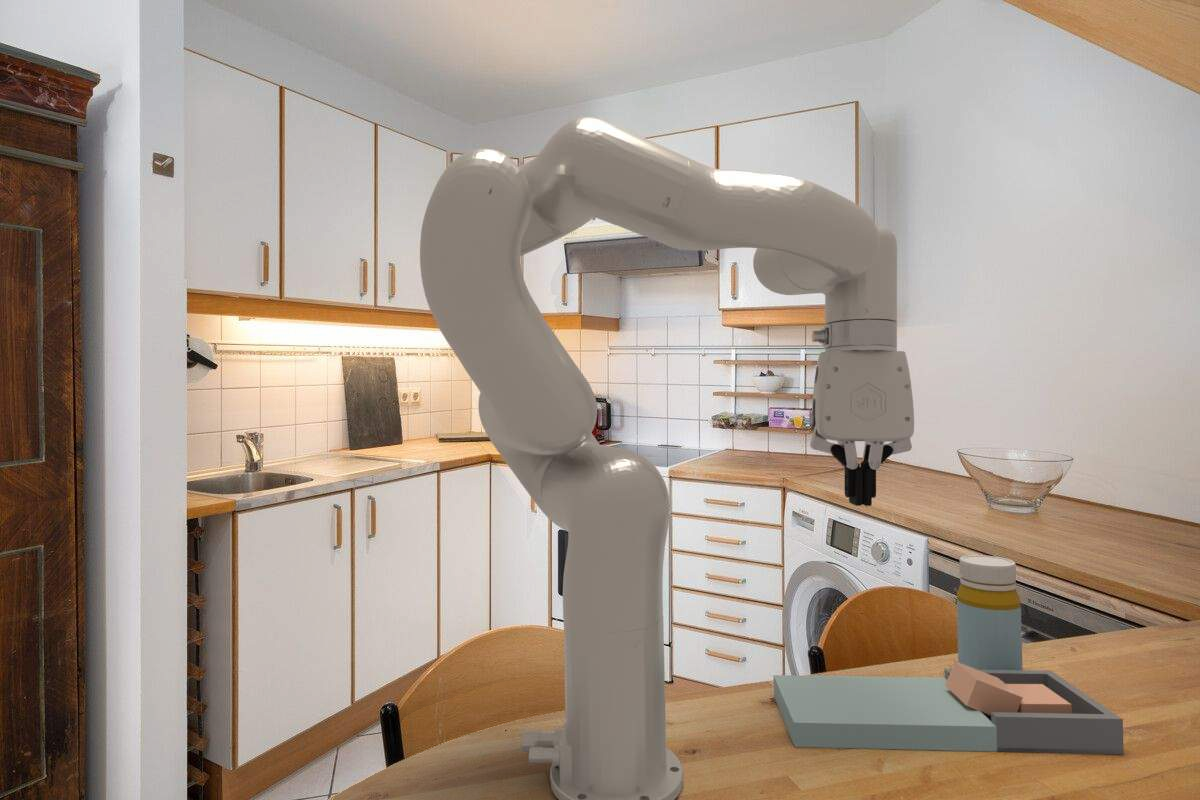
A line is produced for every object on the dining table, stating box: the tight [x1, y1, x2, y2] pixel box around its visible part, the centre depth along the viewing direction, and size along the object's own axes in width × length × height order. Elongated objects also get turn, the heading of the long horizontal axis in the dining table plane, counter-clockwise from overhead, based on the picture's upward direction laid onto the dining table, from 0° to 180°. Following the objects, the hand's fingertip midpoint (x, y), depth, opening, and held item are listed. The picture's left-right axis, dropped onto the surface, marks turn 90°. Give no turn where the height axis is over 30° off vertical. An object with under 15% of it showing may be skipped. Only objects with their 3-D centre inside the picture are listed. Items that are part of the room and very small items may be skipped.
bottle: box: [956, 554, 1024, 670], centre depth 84 cm, size 7×7×15 cm
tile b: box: [1006, 684, 1072, 714], centre depth 72 cm, size 5×5×3 cm
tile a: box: [945, 660, 1023, 715], centre depth 72 cm, size 5×5×3 cm
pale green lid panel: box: [772, 674, 997, 752], centre depth 73 cm, size 20×12×2 cm, turn 85°
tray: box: [943, 668, 1125, 755], centre depth 72 cm, size 12×12×4 cm
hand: (860, 503), depth 74 cm, fingers closed
